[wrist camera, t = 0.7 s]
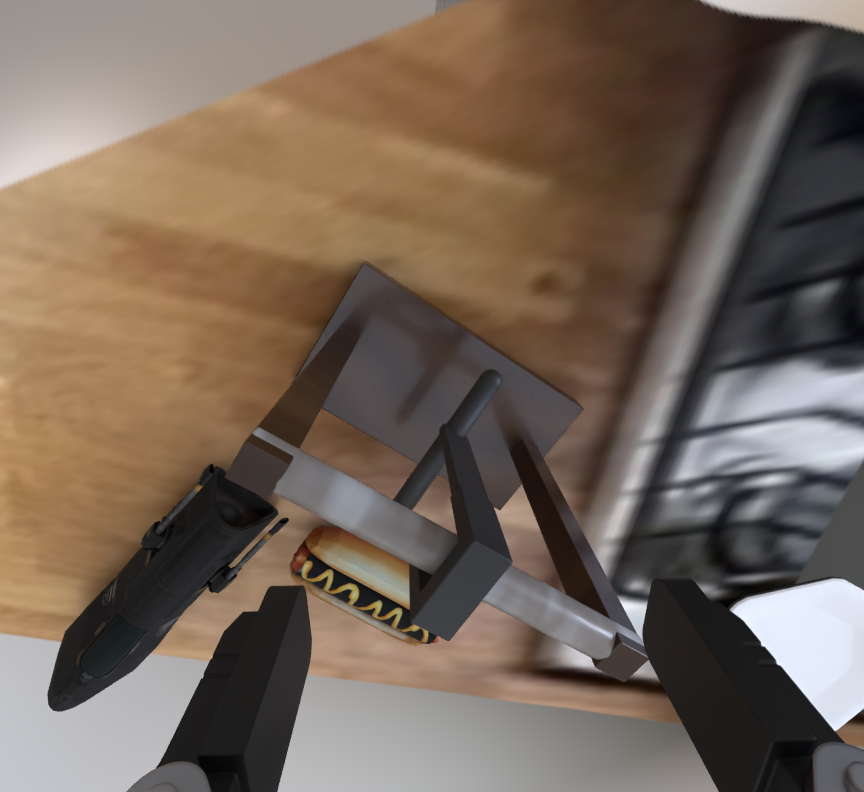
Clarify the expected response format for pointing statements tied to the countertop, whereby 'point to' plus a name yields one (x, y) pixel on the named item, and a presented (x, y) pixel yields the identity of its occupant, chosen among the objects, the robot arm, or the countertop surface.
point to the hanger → (458, 523)
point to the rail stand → (413, 436)
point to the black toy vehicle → (160, 585)
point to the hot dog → (359, 581)
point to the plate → (814, 640)
